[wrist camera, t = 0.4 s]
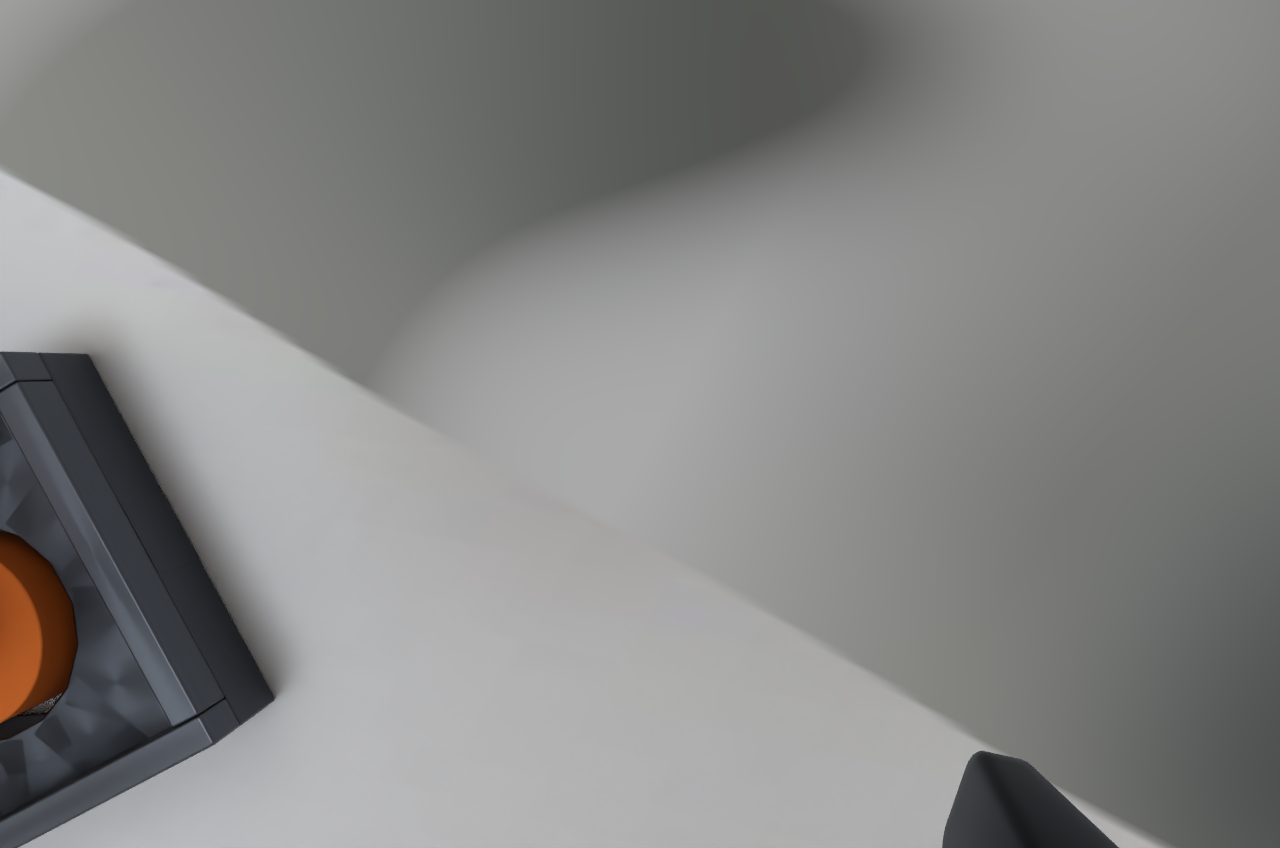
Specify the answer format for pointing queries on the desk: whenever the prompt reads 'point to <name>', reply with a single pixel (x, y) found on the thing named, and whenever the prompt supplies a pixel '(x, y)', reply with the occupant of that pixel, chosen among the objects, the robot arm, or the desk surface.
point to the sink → (103, 664)
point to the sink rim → (108, 604)
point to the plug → (32, 629)
